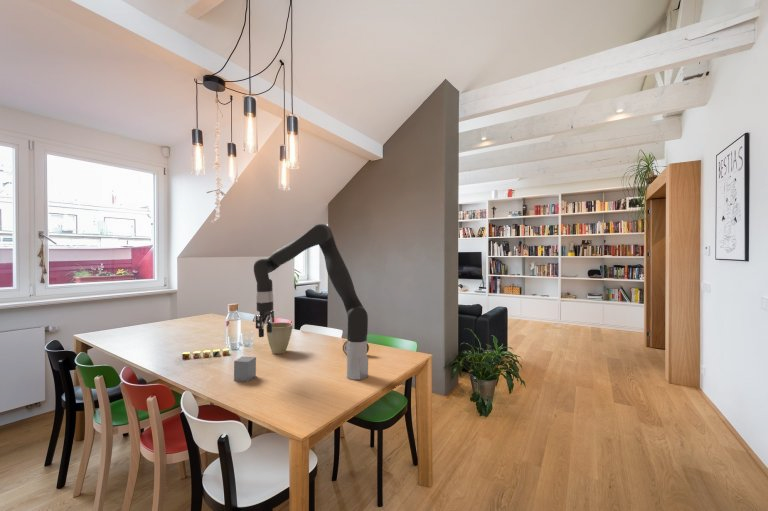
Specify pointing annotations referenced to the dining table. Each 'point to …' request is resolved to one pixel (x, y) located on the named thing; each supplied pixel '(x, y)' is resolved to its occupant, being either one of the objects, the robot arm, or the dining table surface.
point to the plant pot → (279, 337)
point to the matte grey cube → (244, 368)
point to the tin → (346, 347)
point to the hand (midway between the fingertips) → (265, 334)
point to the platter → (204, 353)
